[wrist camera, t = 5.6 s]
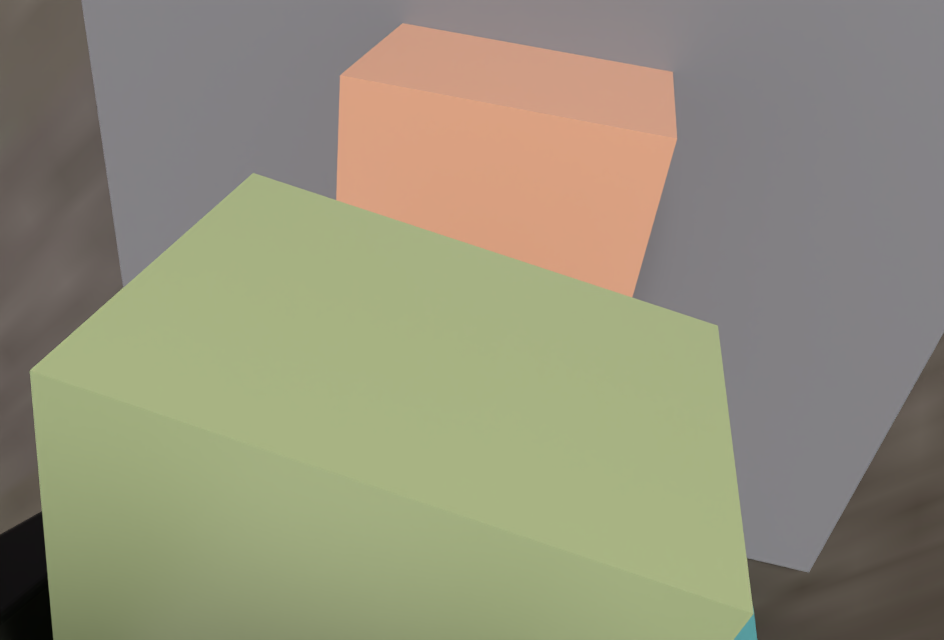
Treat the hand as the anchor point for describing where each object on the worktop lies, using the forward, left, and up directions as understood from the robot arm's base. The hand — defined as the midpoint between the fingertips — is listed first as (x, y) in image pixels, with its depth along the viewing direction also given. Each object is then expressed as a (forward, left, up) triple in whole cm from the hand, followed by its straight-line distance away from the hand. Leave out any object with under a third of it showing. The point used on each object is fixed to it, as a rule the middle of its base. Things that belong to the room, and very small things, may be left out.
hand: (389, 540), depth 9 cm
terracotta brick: (0, 0, -9) cm, 9 cm away
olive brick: (0, 0, -1) cm, 1 cm away
